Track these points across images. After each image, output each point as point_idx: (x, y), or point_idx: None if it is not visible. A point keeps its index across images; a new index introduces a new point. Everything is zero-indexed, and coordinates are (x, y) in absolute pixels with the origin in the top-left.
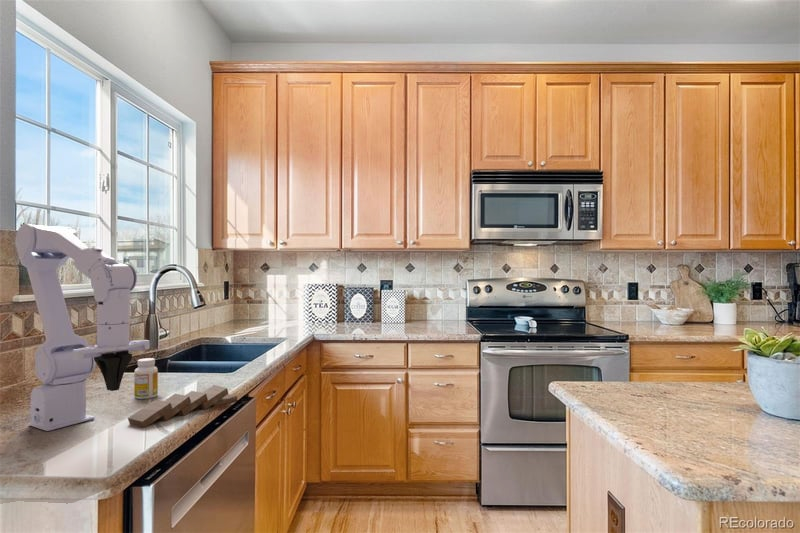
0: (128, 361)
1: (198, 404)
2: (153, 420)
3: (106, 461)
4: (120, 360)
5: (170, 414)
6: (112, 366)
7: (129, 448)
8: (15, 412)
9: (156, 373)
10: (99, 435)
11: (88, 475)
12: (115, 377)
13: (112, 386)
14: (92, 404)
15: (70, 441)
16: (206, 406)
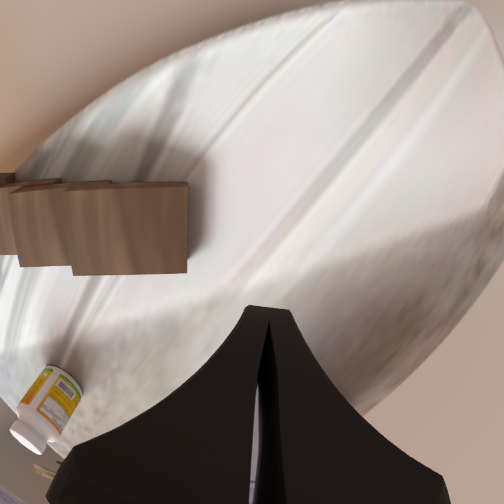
0: (132, 440)
1: (12, 183)
2: (148, 183)
3: (439, 54)
4: (247, 497)
5: (87, 184)
6: (361, 444)
7: (353, 60)
8: None
9: (22, 400)
10: (303, 256)
11: (491, 43)
12: (289, 359)
13: (297, 326)
14: None
15: (368, 286)
16: (6, 173)
